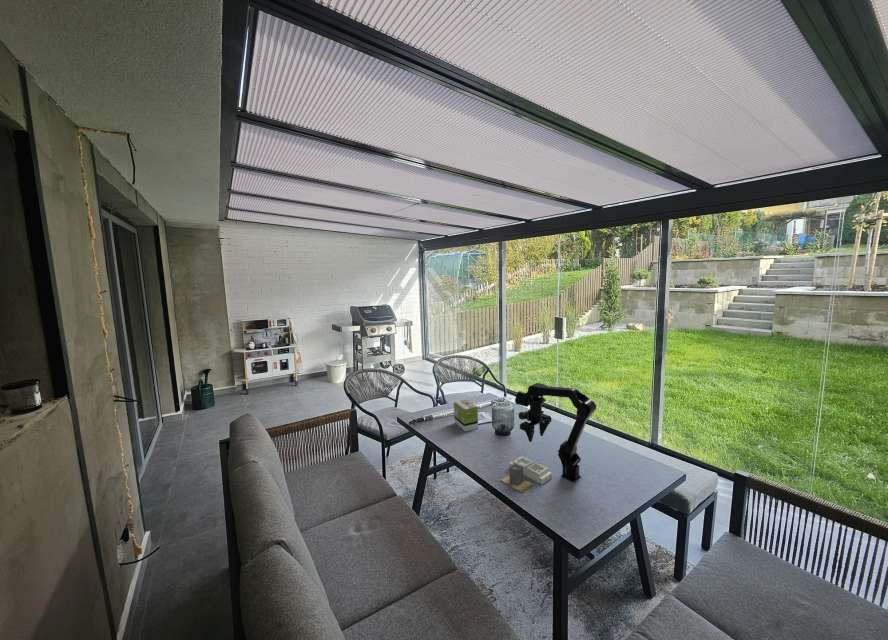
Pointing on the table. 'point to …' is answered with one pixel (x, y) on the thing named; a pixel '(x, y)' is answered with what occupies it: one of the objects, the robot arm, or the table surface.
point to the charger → (516, 474)
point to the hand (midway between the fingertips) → (535, 438)
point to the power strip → (533, 469)
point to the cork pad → (520, 487)
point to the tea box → (466, 415)
